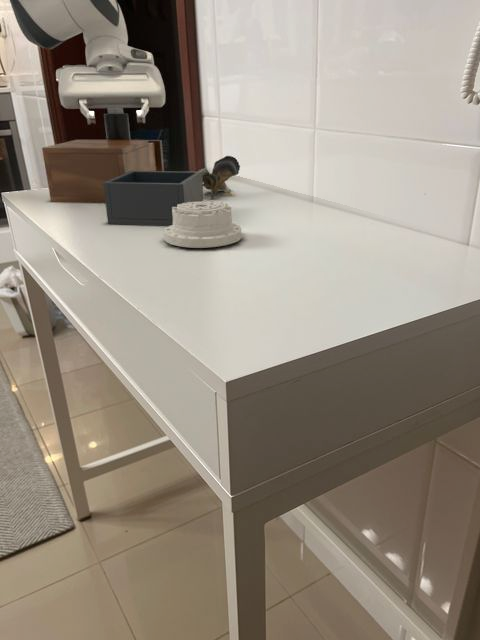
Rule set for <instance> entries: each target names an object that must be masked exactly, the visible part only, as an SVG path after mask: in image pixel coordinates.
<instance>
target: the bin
mask: <svg viewBox="0 0 480 640" xmlns="http://www.w3.org/2000/svg"><path fill="white" fill-rule="evenodd" d="M203 184H204V183H202V172H198V171H172V170H171V171H169V170H168V171H167V170H164V171H129V172H127V173H125V174H122V175H120V176H118V177H115V178H113V179H111V180H109V181H106V182H104V183H103V188H104V196H105V203H104V204H105V211H106V218H107V224H108V225H129V226H130V225H131V226H132V225H133V226H135V225H136V226H137V225H138V226H167V227H168V226H171V225H173V215H172V207H177V204H182V203H188V202H201V201H204V186H203Z"/></svg>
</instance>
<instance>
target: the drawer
mask: <svg viewBox="0 0 480 640" xmlns="http://www.w3.org/2000/svg"><path fill="white" fill-rule="evenodd" d="M147 140H148V143H149V154H150V165H151V171H165V169H164V168H165V165H164V153H163V141H162V140H161V139H147Z"/></svg>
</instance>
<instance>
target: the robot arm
mask: <svg viewBox="0 0 480 640" xmlns="http://www.w3.org/2000/svg"><path fill="white" fill-rule="evenodd" d="M9 3H10V5H11V9H12V11H13V14H14V17H15V20H16V22H17V25H18V27H19V29H20V31H21V32H22V34H23V36H24V38H26V40H27V41H28V42H30V43H32V44H33V45H35V46H37V47H40V48H42V49H46V50H53V49H55V48H56V47H58V46H60V45H61V44H63V43H64V42H66V41H67V40H69V39H71V38H73V37H75V36H78V35H80V34H83V37H82V38H83V41H84V44H85V50H84V52H85V53H84V55H85V63H86V64H76V65H70V64H64V65H62V67H59V68H57V69H56V71H55V80H56V82H57V83H58V96H59V97H58V98H59V102H60V105H61V106H62V107H63V108H64V109H68V110H77V109H79V111H80V113H81V114H82V115H83V116H84V117H85V119H86V121H87V125H96V124H97V123H96V116H95V111H94V110H89V109H108V108H123V109H133V108H135V109H136V122H137V124H145V123H146V115H147V114H148V113H149V111H150V108H162V107H163V106H164V105H165V104H166V89H165V88H166V87H165V84H164V80H163V78H162V73H161V72H160V70H159V68H158V67H157V66H156V65H155V60H154V55H153V53H152V52H149V51H147V50H142V49H139V48H135V47H133V46H129V45H128V41H129V36H128V35H129V34H128V29H127V24H126V21H125V17H124V14H123V12H122V8H121V6H120V4H119V3H118V0H9ZM138 108H141V109H139V110H137V109H138Z"/></svg>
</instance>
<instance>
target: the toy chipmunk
mask: <svg viewBox="0 0 480 640" xmlns="http://www.w3.org/2000/svg"><path fill="white" fill-rule="evenodd" d="M240 168H241V165H240V163H239V161H238V159H237V158H236V157H234V156H232V155H226V156H224V157H222V158H219V160H216V161H215V162H214V163H213V168H212V171H211V173H210V171H209V169H208V168H206V167H204V168H201V169H200V170H198V171H197V172H202V183H203V188H205V189H206V190H209V191H211V196H210V198H211V200H213V199H215V197H216V195H218V192H219V191H223V192H224V193H225V194H227V195H229V196H230V197H231V196H232V193H231V189H230V188H229V186H228V185H227V183H226V181H227V182H228V180H229V179H230V178H232V177H233V176H234V177H235V176H237V175H238V174H239V173H240V170H241V169H240Z"/></svg>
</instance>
